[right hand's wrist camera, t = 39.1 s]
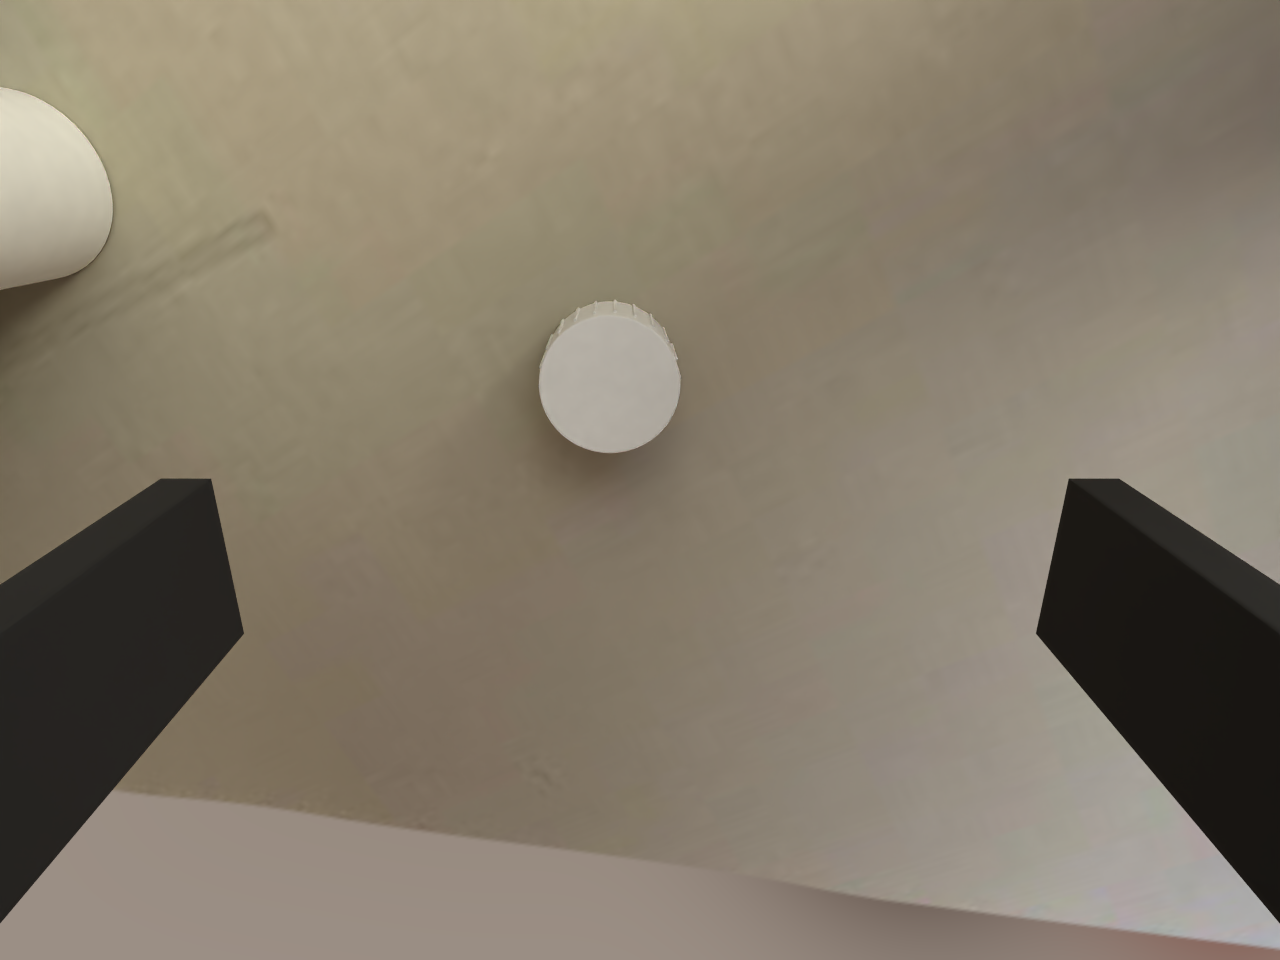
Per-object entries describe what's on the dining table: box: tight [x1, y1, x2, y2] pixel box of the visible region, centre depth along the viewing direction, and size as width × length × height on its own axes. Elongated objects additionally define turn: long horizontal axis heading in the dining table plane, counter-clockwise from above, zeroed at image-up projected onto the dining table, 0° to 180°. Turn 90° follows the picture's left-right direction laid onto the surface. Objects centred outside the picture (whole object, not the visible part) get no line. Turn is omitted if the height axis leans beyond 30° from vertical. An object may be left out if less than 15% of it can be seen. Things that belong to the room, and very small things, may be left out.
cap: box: [538, 300, 681, 453], centre depth 24 cm, size 4×4×3 cm
